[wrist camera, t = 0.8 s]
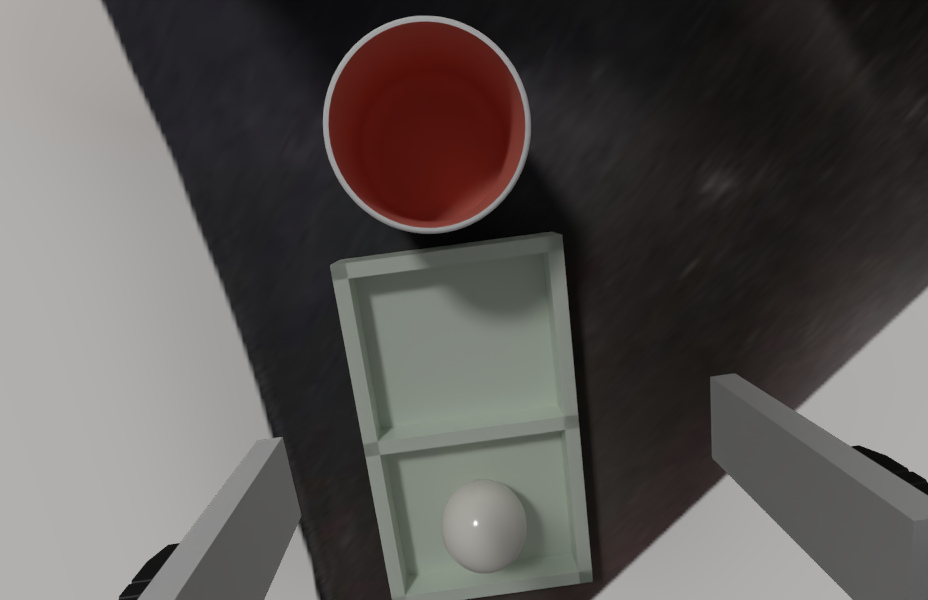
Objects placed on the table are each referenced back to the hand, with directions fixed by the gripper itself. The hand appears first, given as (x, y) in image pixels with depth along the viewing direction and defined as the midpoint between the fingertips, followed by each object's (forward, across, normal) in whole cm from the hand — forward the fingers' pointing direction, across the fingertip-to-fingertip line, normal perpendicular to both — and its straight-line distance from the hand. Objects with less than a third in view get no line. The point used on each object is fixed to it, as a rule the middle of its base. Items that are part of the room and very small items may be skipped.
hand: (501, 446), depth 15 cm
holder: (+21, -1, -9) cm, 23 cm away
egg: (+19, -1, -15) cm, 25 cm away
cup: (+21, -1, +10) cm, 24 cm away
